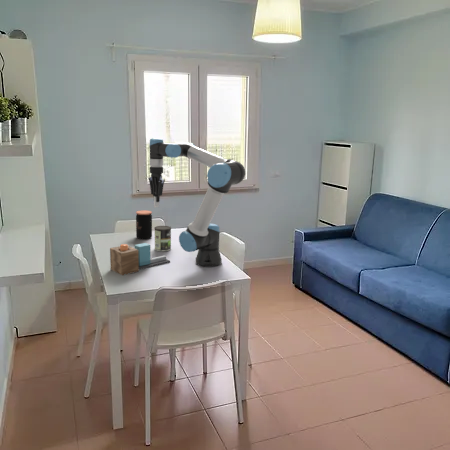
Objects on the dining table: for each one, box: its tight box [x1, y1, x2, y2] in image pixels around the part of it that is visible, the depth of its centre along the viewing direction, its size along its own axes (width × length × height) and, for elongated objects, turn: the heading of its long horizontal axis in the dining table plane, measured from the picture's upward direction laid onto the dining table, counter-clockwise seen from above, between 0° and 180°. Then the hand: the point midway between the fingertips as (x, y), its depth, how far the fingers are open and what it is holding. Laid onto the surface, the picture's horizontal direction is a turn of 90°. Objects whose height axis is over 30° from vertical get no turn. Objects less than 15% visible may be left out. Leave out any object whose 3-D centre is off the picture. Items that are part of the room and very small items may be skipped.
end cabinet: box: [109, 245, 140, 276], centre depth 239 cm, size 12×11×12 cm
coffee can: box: [154, 225, 172, 252], centre depth 280 cm, size 10×10×14 cm
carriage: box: [134, 242, 151, 266], centre depth 247 cm, size 5×7×11 cm
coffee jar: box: [135, 209, 153, 240], centre depth 304 cm, size 11×11×18 cm
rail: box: [139, 255, 171, 271], centre depth 251 cm, size 8×22×3 cm, turn 133°
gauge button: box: [120, 243, 129, 251], centre depth 238 cm, size 4×4×6 cm
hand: (156, 207), depth 257 cm, fingers closed
